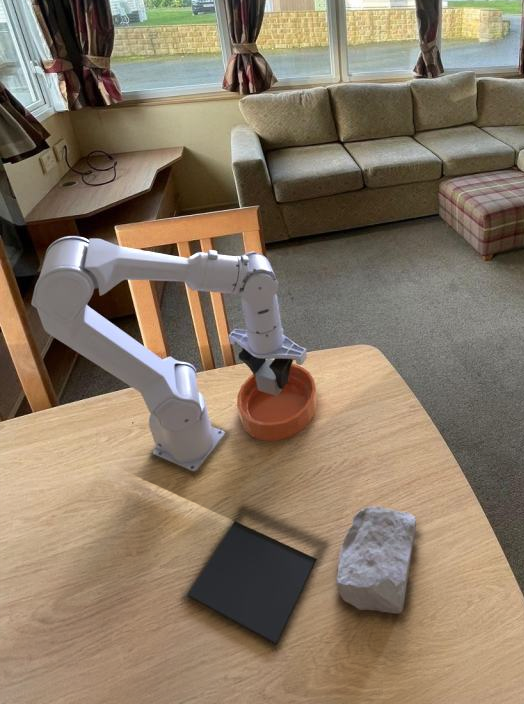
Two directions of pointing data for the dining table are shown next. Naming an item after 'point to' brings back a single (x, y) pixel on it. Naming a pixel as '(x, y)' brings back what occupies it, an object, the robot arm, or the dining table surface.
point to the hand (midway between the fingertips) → (273, 381)
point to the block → (267, 379)
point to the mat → (253, 581)
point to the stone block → (376, 559)
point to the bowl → (278, 406)
